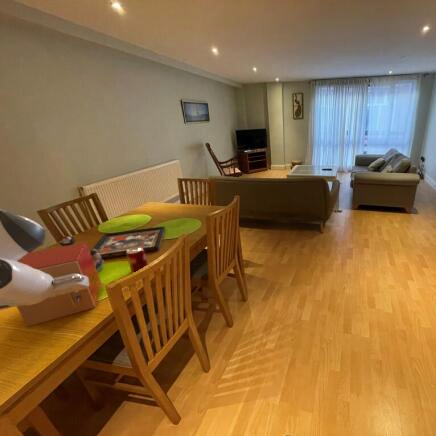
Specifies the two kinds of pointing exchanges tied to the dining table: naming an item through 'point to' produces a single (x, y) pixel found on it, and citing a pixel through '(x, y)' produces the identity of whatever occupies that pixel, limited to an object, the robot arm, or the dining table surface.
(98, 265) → the bison figurine
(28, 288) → the robot arm
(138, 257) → the soda can
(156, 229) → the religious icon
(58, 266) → the hinged door with handle
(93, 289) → the cabinet
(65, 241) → the sundae
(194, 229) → the dining table surface
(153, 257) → the dining table surface
